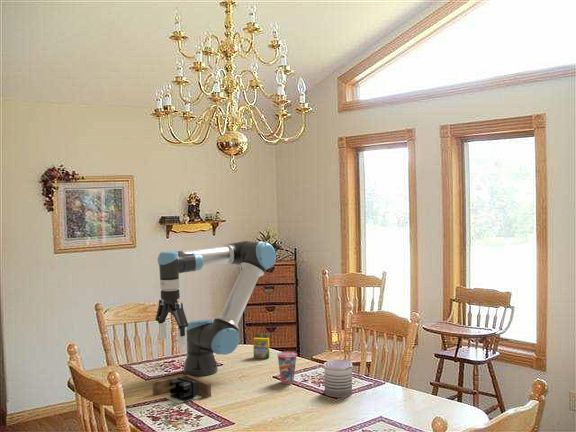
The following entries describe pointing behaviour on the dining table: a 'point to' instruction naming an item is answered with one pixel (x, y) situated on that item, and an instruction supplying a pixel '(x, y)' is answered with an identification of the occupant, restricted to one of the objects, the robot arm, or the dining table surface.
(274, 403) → the dining table surface
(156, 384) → the brown l-shaped piece
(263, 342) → the crayon box
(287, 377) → the cup
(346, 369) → the can
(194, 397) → the pad
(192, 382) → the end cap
